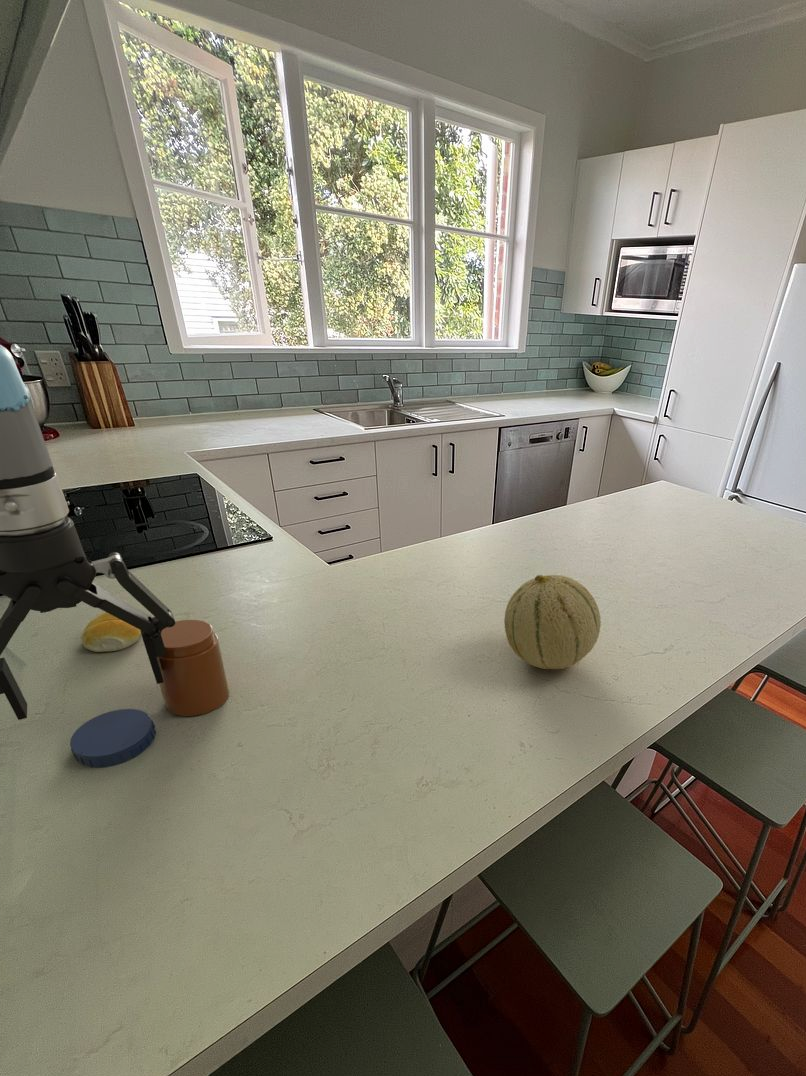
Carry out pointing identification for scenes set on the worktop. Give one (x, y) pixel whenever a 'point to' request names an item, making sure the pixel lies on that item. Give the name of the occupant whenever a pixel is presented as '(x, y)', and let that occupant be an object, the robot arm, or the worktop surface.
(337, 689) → the worktop surface
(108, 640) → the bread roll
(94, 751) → the jar lid
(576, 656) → the cantaloupe
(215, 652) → the jam jar
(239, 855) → the worktop surface
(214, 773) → the worktop surface
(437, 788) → the worktop surface
